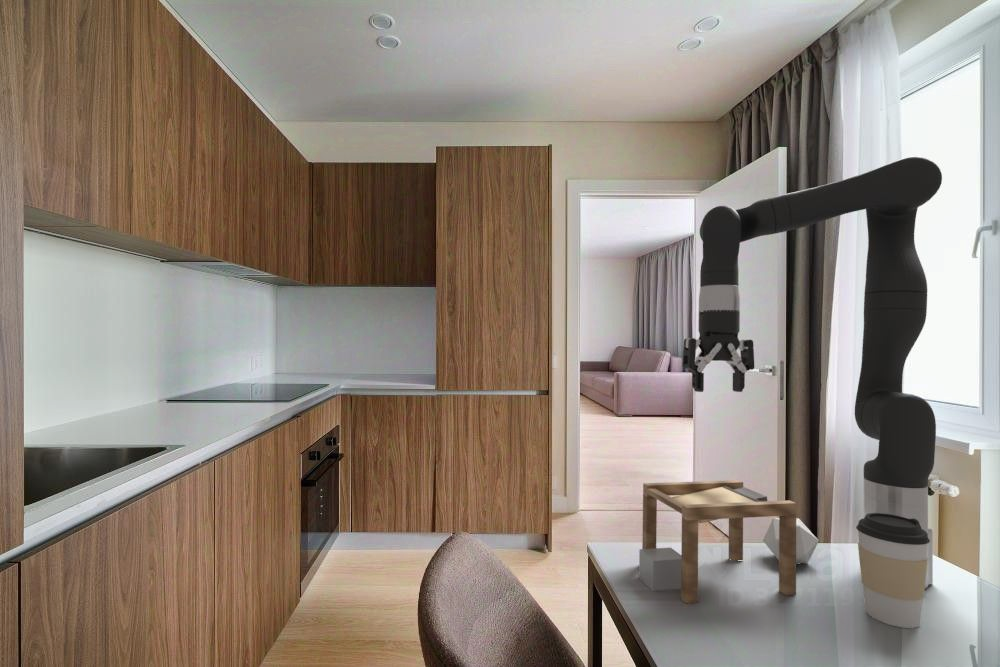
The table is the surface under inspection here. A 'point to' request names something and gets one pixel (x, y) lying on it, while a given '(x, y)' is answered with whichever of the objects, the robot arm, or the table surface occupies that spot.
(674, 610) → the table surface
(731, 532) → the frame
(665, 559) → the grey block
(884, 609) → the coffee cup
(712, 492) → the trapdoor
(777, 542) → the die
